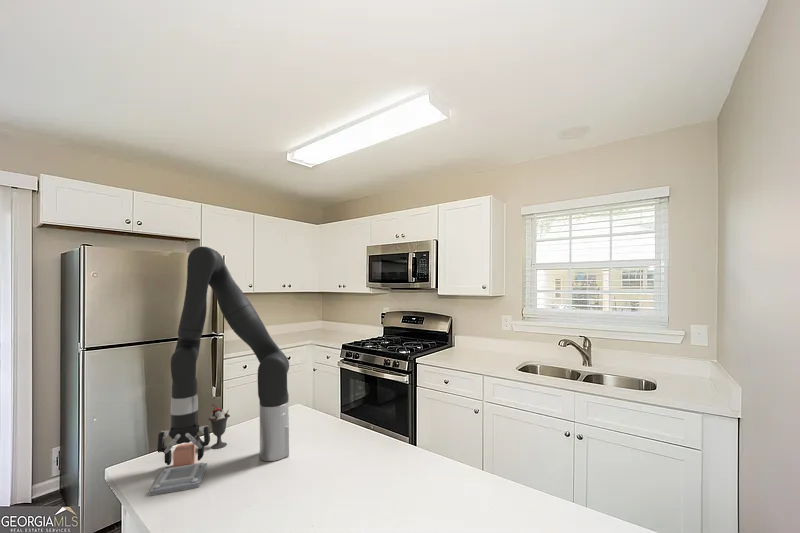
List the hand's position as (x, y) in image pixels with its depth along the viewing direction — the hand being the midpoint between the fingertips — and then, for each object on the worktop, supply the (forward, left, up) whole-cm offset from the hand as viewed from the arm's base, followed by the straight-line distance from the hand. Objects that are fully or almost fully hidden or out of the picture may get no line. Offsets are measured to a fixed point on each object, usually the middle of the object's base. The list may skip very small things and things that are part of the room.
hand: (184, 461), depth 115 cm
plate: (-1, +9, -1) cm, 9 cm away
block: (0, 0, -2) cm, 2 cm away
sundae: (-8, -12, -2) cm, 15 cm away
